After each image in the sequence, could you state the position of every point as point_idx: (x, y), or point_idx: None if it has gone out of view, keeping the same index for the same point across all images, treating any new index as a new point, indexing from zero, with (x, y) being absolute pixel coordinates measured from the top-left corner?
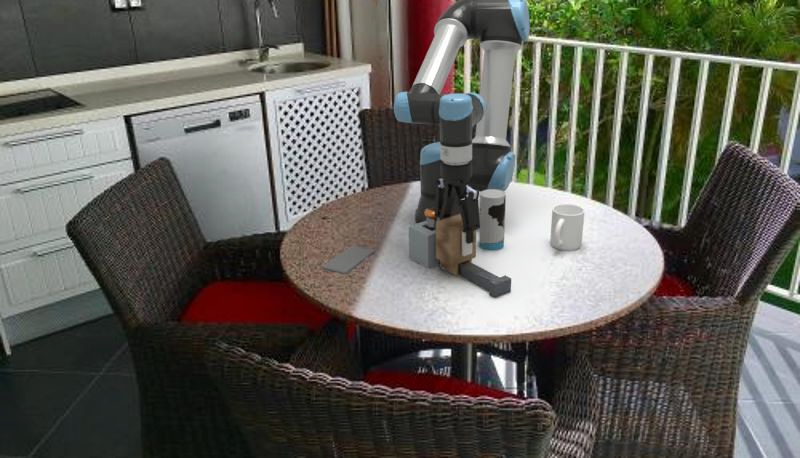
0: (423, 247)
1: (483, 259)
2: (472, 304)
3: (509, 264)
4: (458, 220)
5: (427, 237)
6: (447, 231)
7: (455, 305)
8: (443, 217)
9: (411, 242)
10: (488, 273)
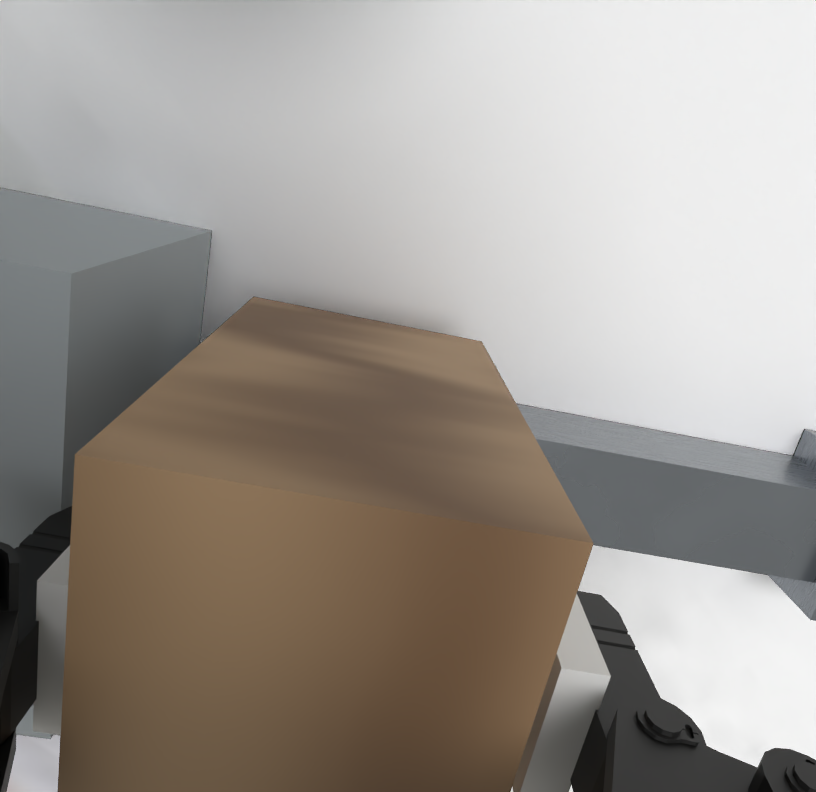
0: None
1: (409, 109)
2: (714, 693)
3: (657, 40)
4: (306, 728)
5: None
6: None
7: None
8: (3, 789)
9: None
10: (720, 497)
